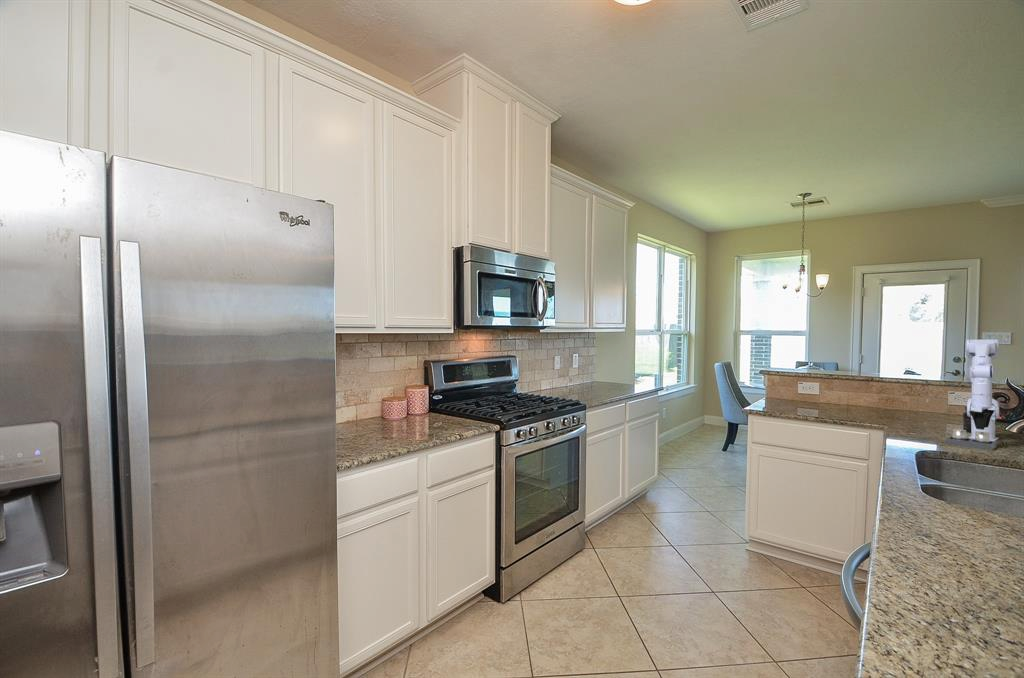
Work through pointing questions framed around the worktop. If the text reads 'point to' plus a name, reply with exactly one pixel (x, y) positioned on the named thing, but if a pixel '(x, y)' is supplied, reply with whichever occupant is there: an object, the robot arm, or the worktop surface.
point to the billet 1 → (959, 434)
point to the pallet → (971, 443)
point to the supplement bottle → (966, 421)
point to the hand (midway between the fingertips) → (982, 428)
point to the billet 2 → (982, 437)
